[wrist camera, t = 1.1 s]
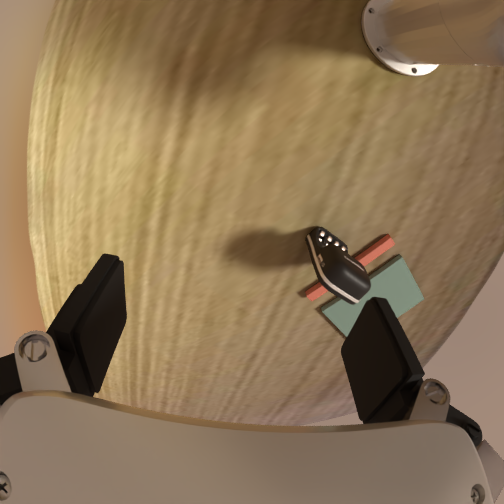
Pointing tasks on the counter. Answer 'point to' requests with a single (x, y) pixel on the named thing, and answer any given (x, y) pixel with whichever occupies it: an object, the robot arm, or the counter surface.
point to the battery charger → (337, 266)
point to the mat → (378, 295)
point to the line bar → (362, 258)
